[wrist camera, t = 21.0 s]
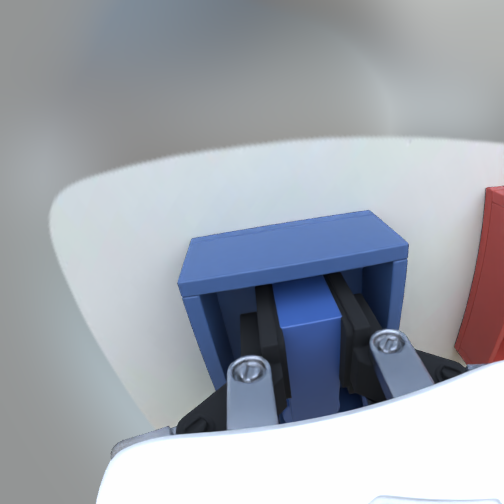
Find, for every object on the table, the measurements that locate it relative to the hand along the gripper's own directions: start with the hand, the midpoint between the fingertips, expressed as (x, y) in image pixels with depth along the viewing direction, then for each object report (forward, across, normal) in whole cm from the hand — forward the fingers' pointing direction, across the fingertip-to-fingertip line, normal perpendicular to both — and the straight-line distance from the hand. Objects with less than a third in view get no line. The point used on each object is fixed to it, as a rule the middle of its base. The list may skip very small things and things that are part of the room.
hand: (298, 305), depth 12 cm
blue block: (0, 0, +2) cm, 3 cm away
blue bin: (+2, 0, +2) cm, 3 cm away
